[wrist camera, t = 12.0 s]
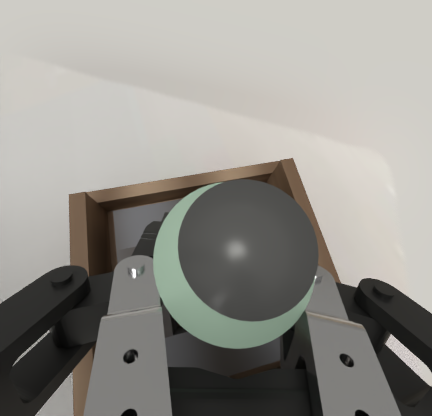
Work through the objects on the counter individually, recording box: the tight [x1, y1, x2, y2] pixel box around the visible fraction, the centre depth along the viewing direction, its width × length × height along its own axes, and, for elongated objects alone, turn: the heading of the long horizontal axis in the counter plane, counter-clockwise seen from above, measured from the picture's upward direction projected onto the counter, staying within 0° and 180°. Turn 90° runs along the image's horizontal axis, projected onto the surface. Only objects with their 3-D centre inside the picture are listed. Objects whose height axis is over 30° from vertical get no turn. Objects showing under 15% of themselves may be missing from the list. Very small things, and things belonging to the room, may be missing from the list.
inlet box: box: [69, 158, 341, 416], centre depth 16 cm, size 16×16×6 cm
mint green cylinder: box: [153, 179, 319, 349], centre depth 10 cm, size 4×4×12 cm
